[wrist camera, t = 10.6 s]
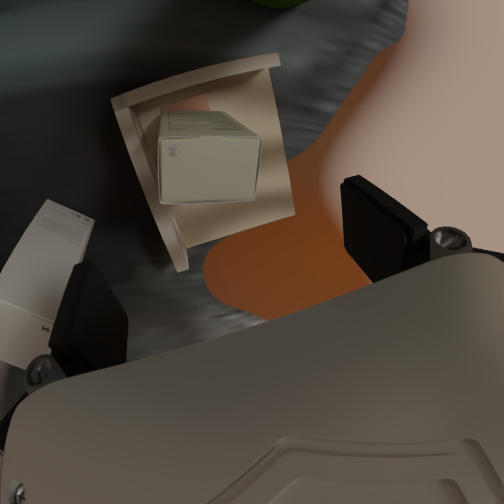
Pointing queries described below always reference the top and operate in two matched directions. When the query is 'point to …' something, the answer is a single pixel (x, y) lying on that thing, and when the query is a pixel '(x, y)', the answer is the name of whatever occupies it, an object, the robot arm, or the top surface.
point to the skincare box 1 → (39, 280)
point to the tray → (209, 99)
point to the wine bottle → (279, 3)
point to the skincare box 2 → (206, 158)
